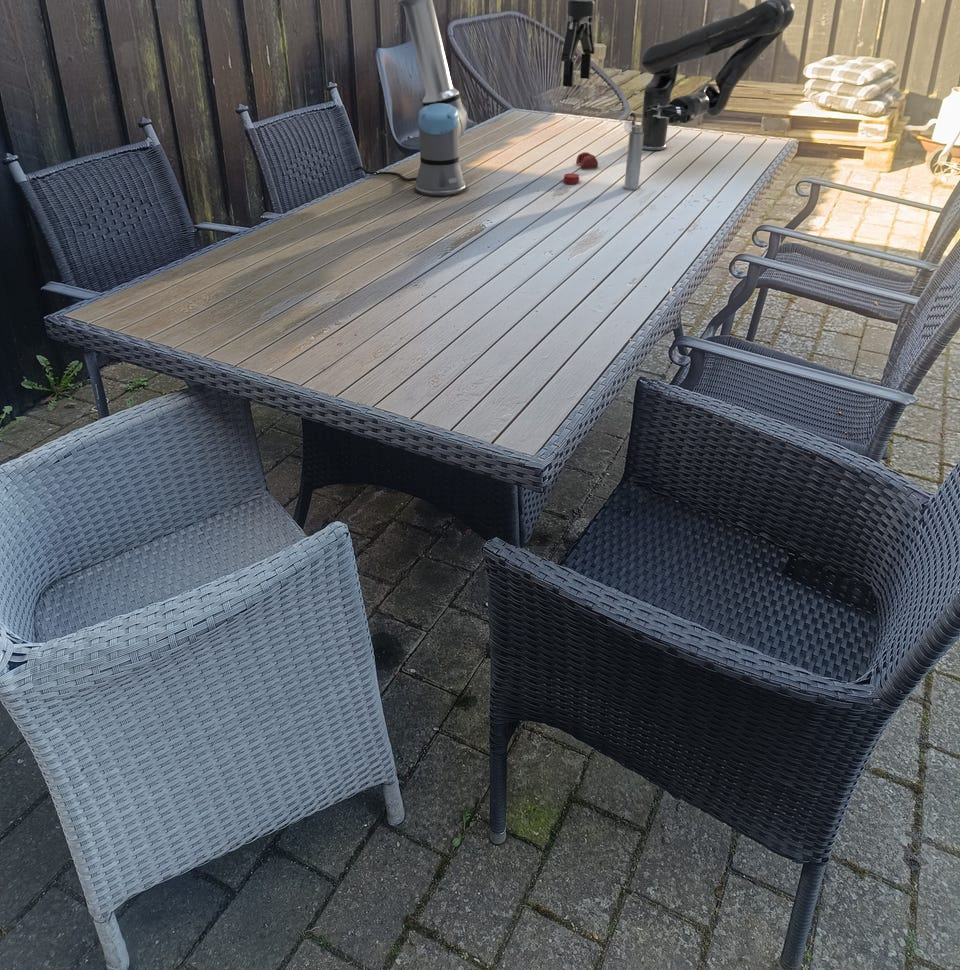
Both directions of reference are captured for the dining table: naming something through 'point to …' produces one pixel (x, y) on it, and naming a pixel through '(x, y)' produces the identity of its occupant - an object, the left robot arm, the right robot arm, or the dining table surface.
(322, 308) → the dining table surface
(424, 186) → the left robot arm
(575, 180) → the lid
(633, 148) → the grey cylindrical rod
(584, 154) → the dental model
